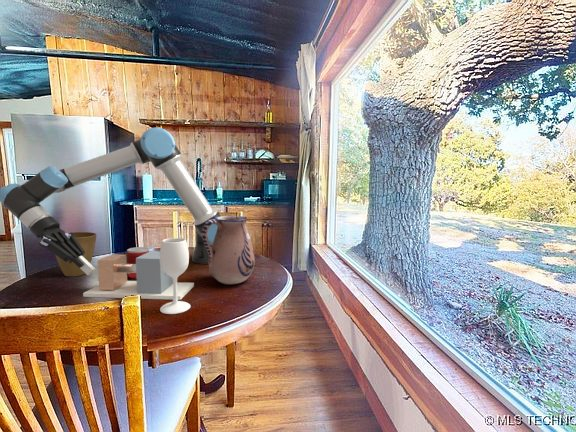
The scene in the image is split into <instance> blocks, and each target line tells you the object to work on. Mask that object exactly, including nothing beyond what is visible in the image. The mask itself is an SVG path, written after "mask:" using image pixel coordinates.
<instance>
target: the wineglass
mask: <svg viewBox="0 0 576 432" xmlns="http://www.w3.org/2000/svg"><path fill="white" fill-rule="evenodd" d="M159 251H160V266H161V269H162V270H163V272H164V273H165V274H167V275H169V276H171V277H172V279H173V300H172V301H170V302H167V303H165V304H163V305H162V306H161V307H160V308H159V311H160V312H161V313H162V314H165V315H176V314H182V313H184V312H187V311H188V310H189V309H191V303H188V302H186V301H183V300H178V299H177V282H178V278H179V276H181V275H182V274H184V273H185V272H186V271H187V269H188V266H189V262H190V261H189V260H190V252H189V246H188V243H187V240H186V238H181V237H179V238H178V237H172V238H166V239H165V238H164V239H162V240H161V245H160V249H159Z"/></svg>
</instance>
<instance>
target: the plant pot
mask: <svg viewBox="0 0 576 432" xmlns="http://www.w3.org/2000/svg"><path fill="white" fill-rule="evenodd" d="M67 233H68V234H69V233H70V232H67ZM72 233H73V234H74V237H75V239H76V240H77V241H78V243H79V244H80V245H81V247H82V248H83V249H84V251H85V253H84V254H83V256H84V257H85V258H86V259H87V260H88V261H89V263H90V264H91V263H92V260H93V256H94V251H95V248H96V239H97V236H98V235H97V233H96V232H91V231H75V232H74V231H73V232H72ZM54 256H55V259H56V261H57V263H58V266H59V267H60V270H61V272H62V273H63V275H64V276H65V277H77V276H78V277H80V276H83V275H85V274H86V273H85V272H84V271H83V270H82V269H81V268H79V267H78V266H77V265H76V264H75V263H74V262H72V263H69V262H70V261H68V262H65V261H64V260H62V259H61V258H59V257H58V256H57V255H55V254H54ZM86 275H87V274H86Z"/></svg>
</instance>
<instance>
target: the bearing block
mask: <svg viewBox="0 0 576 432" xmlns="http://www.w3.org/2000/svg"><path fill="white" fill-rule="evenodd" d="M136 277H137V279H136V280H127V282H126V283H125V284H123V285H121V286H120V287H118V288H116V289H114V290H104V289H99V284H97V285H96V286H94V287H92V288H90V289H88V290H87V291H84V292H83V293H82V297H84V298H109V299H111V298H114V299H124V298H123V297H125V296H131V295H140V296H141V300H143V299H144V300H146V299H148V300H168V301H169V300H170V301H171V300H172V301H173V279H172V277H171V276H169V275H167V274H165V273H164V272H163V270H162V269H161V266H160V250H159V251H156V250H149V252H148V253H146V254H144V255H142V256H139V257H137V258H136ZM194 287H195V282H179V281H177V299H178V301H182V299H183V298H184V297H185V296H186V295H187V294H188V293H189V292H190V291H191V290H192V289H193V288H194Z"/></svg>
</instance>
